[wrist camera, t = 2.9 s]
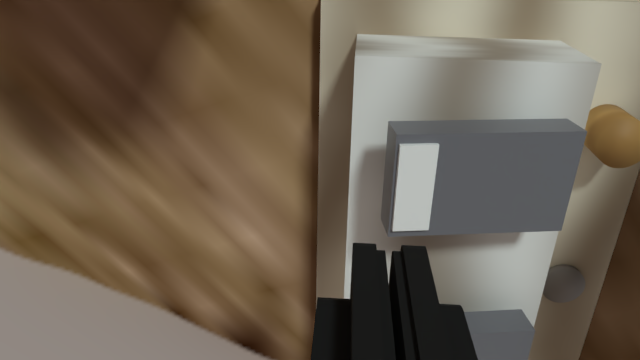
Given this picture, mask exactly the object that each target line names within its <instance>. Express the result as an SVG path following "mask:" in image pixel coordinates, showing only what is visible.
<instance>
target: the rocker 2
mask: <svg viewBox="0 0 640 360" xmlns="http://www.w3.org/2000/svg"><path fill="white" fill-rule="evenodd" d="M464 314H465V317H466V321H467V324H468V328H469V331H470V334H471V338H472V341H473V345H474V348H475V351H476V355H477V358H478V360H528V357H529V353H530V349H531V345H532V342H533V338H534V334H535V329H534V327H533V326H532V324H531V323H530V321H529V320H528V318H527V317H526V315H525V314H524V312H523V311H522V309H516V310H495V311H475V312H464Z"/></svg>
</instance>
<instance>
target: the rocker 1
mask: <svg viewBox="0 0 640 360" xmlns="http://www.w3.org/2000/svg"><path fill="white" fill-rule="evenodd" d="M586 135H587V131H586V130H585V129H583V128H581V127H580V126H578V125H577V124H575V123H573V122H572V121H570V120H569V119H567V118H565V119H499V120H433V121H388V132H387V144H386V157H385V170H384V183H383V195H382V208H381V221H382V223H383V226H384V228H385V231H386V234H387V236H388V237H399V236H428V235H456V234H485V233H513V232H541V231H561V230H562V227H563V223H564V219H565V215H566V211H567V207H568V204H569V200H570V196H571V192H572V188H573V184H574V181H575V177H576V173H577V169H578V165H579V161H580V158H581V154H582V150H583V146H584V142H585V138H586Z"/></svg>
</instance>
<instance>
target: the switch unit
mask: <svg viewBox="0 0 640 360" xmlns="http://www.w3.org/2000/svg"><path fill="white" fill-rule="evenodd" d="M565 118H567V119H569V120H570V121H572V122H573V123H575V124H577V125H578V126H580V127H581V128H583V129H585V130H586V131H587V135H586V138H585V142H584V146H583V150H582V154H581V158H580V161H579V165H578V169H577V173H576V177H575V181H574V184H573V188H572V192H571V196H570V200H569V204H568V207H567V211H566V215H565V219H564V223H563V227H562V230H561V231H541V232H513V233H485V234H456V235H428V236H399V237H388V236H387V234H386V231H385V228H384V226H383V223H382V221H381V208H382V195H383V183H384V170H385V157H386V144H387V132H388V121H433V120H499V119H565ZM639 169H640V0H321V27H320V90H319V153H318V216H317V280H316V306H317V299H318V297H323V298H342V299H350V287H351V267H352V248H353V243H371V244H376V247H377V250H385V253H386V263H387V273H388V283H389V276H390V265H391V255H392V251H400V249H401V245H413V246H426V249H427V253H428V257H429V261H430V266H431V270H432V274H433V279H434V283H435V287H436V292H437V296H438V300H439V304H455V305H461V306H462V308H463V311H464V312H475V311H495V310H516V309H522V311H523V312H524V314H525V315H526V317H527V318H528V320H529V321H530V323H531V324H532V326H533V327H534V329H535V334H534V338H533V342H532V345H531V349H530V353H529V357H528V360H579V357H580V354H581V351H582V348H583V345H584V341H585V338H586V335H587V332H588V329H589V326H590V323H591V320H592V316H593V313H594V310H595V307H596V304H597V301H598V298H599V294H600V291H601V288H602V285H603V282H604V279H605V276H606V273H607V269H608V266H609V263H610V260H611V257H612V254H613V251H614V248H615V244H616V241H617V238H618V235H619V232H620V229H621V226H622V223H623V219H624V216H625V213H626V210H627V207H628V204H629V201H630V198H631V194H632V191H633V188H634V185H635V182H636V179H637V176H638V172H639Z"/></svg>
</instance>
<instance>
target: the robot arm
mask: <svg viewBox="0 0 640 360" xmlns="http://www.w3.org/2000/svg"><path fill="white" fill-rule="evenodd" d="M311 360H478V358H477V355H476V351H475V348H474V345H473V341H472V338H471V334H470V331H469V328H468V324H467V321H466V317H465V314H464V311H463V308H462V306H461V305H455V304H439V300H438V296H437V292H436V287H435V283H434V279H433V274H432V270H431V266H430V261H429V257H428V253H427V249H426V246H413V245H401V249H400V251H392V255H391V265H390V276H389V283H388V273H387V263H386V253H385V250H377V247H376V244H371V243H353V248H352V267H351V287H350V299H342V298H323V297H318V299H317V306H316V316H315V325H314V335H313V344H312V354H311Z"/></svg>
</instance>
